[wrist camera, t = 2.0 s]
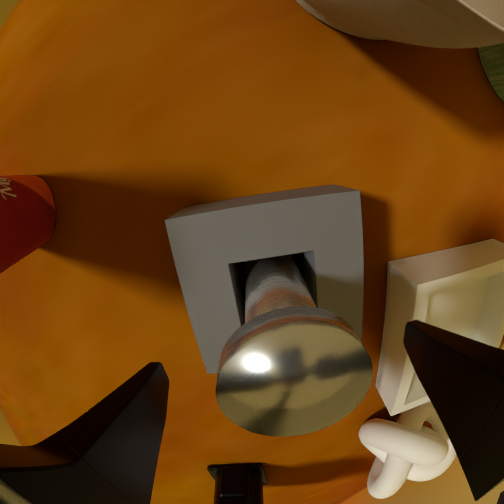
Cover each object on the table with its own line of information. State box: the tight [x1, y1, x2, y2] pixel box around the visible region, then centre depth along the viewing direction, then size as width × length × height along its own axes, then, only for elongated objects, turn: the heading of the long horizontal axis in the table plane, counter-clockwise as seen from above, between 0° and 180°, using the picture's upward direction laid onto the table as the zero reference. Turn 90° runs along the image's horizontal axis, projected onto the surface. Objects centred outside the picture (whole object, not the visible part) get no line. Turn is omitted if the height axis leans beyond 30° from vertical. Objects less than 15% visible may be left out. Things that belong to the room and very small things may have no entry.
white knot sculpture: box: [359, 401, 456, 499], centre depth 19 cm, size 11×12×9 cm
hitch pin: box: [216, 254, 373, 436], centre depth 12 cm, size 5×5×10 cm
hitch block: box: [165, 185, 364, 374], centre depth 15 cm, size 9×9×4 cm
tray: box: [375, 239, 504, 416], centre depth 17 cm, size 12×12×4 cm
